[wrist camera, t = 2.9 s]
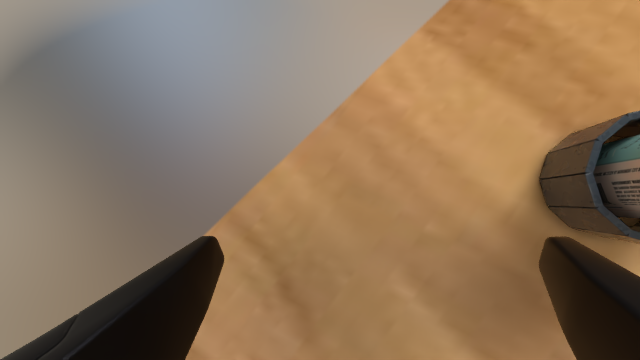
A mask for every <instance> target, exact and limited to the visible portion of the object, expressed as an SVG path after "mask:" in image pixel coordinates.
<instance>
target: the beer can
mask: <svg viewBox="0 0 640 360" xmlns="http://www.w3.org/2000/svg"><path fill="white" fill-rule="evenodd" d="M593 175H594V178H595V181H596V184H597V187H598V190H599V193H600V196H601V199H602V203H603V205H604V206H605V207H606V208H607V209H608V210H610V211H611V212H612V213H613V214H614V215H615V216H616V217H627V218H640V135H636V136H632V137H628V138H625V139H621V140H617V141H613V142H609V143H606V144H603V145H602V148H601V151H600V154H599V157H598V160H597V163H596V166H595V169H594V172H593Z"/></svg>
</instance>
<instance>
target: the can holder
mask: <svg viewBox="0 0 640 360" xmlns="http://www.w3.org/2000/svg"><path fill="white" fill-rule="evenodd" d="M612 135H615V136H620V137H624V138H628V137H632V136H636V135H640V111H636V112H632V113H627V114H625V115H622V116H619V117H617V118H614V119H611V120H608V121H606V122H603V123H600V124H597V125H595V126H592V127H589V128H586V129H584V130H581V131H578V132H575V133H573V134H571V135H569V136H568V137H566V138H565V139H564V140H563V141H562V142H560V143H559V144H558V145H557V146H556V147H554V148H553V149H552V150H551V151H550V152H549V154H547V157H546V160H545V163H544V166H543V169H542V172H541V175H540V179H542V180H540V184H541V187H542V191H543V194H544V198H545V201H546V204H547V206H548V208H549V209H551V210H552V211H553V212H554V213H555V214H556V215H557V216H558V217H559V218H560V219H561V220H562V221H564V222H565V223H566V224H567V225H568V226H569V227H571V228H573V229H577V230H580V231H584V232H587V233H590V234H594V235H597V236H601V237H606V238H612V239H617V240H623V241H629V242H634V243H640V221H639V222H638V223H637V224H635V225H634V226H631V227H628V226H627V225H625V224H624V223H623V222H622V221H621V220H620V219H619V218H617V217H616V216H615V215H614V214H613V213H612V212H611V211H610V210H608V209H607V208H606V207H605V206H604V205H603V203H602V199H601V196H600V193H599V190H598V187H597V184H596V181H595V178H594V175H593V172H594V169H595V166H596V163H597V160H598V157H599V154H600V151H601V148H602V145H603V143H604V142H605V141H606V140H607V139H608V138H610V137H611V136H612Z"/></svg>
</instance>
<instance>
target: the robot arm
mask: <svg viewBox="0 0 640 360" xmlns="http://www.w3.org/2000/svg"><path fill="white" fill-rule="evenodd" d="M223 264H224V255H223V252H222V250H221V247H220V245H219V243H218V240H217V239H216V238H215V237H213V236H202V237H200V238H198V239H197V240H195V241H193V242H192V243H190V244H189V245H187V246H185V247H184V248H182V249H181V250H179V251H177V252H176V253H174V254H173V255H171V256H169V257H168V258H166V259H165V260H163V261H161V262H160V263H158V264H156V265H155V266H153V267H152V268H150V269H148V270H147V271H145V272H144V273H142V274H140V275H139V276H137V277H136V278H134V279H132V280H131V281H129V282H128V283H126V284H124V285H123V286H121V287H120V288H118V289H116V290H115V291H113V292H111V293H110V294H108V295H107V296H105V297H103V298H102V299H100V300H99V301H97V302H95V303H94V304H92V305H91V306H89V307H87V308H86V309H84V310H83V311H81V312H80V313H79V314H76V315H74V316H73V317H71V318H70V319H68V320H66V321H65V322H63V323H62V324H60V325H58V326H57V327H55V328H53V329H52V330H50V331H48V332H47V333H45V334H43V335H42V336H40V337H39V338H37V339H35V340H33V341H32V342H30V343H28V344H26V345H25V346H23V347H22V348H20V349H18V350H16V351H14V352H13V353H11V354H9V355H7V356H6V357H4V358H2V359H0V360H185V359H186V356H187V354H188V352H189V350H190V348H191V345H192V343H193V341H194V339H195V336H196V334H197V332H198V330H199V328H200V325H201V323H202V321H203V319H204V317H205V314H206V312H207V310H208V307H209V304H210V302H211V299H212V296H213V293H214V290H215V287H216V284H217V281H218V278H219V275H220V272H221V270H222V267H223ZM539 268H540V272H541V275H542V277H543V280H544V283H545V286H546V288H547V291H548V294H549V296H550V299H551V302H552V304H553V307H554V310H555V312H556V315H557V318H558V320H559V323H560V325H561V328H562V330H563V333H564V335H565V337H566V339H567V341H568V343H569V345H570V347H571V349H572V351H573V353H574V355H575V357H576V359H577V360H640V277H639V276H637V275H635V274H634V273H632V272H630V271H628V270H626V269H625V268H623V267H621V266H619V265H618V264H616V263H614V262H612V261H611V260H609V259H607V258H605V257H603V256H602V255H600V254H598V253H596V252H595V251H593V250H591V249H589V248H588V247H586V246H584V245H582V244H580V243H579V242H577V241H575V240H573V239H571V238H569V237H548V238H547V239H546V240H545V242H544V246H543V249H542V253H541V256H540V260H539Z"/></svg>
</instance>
